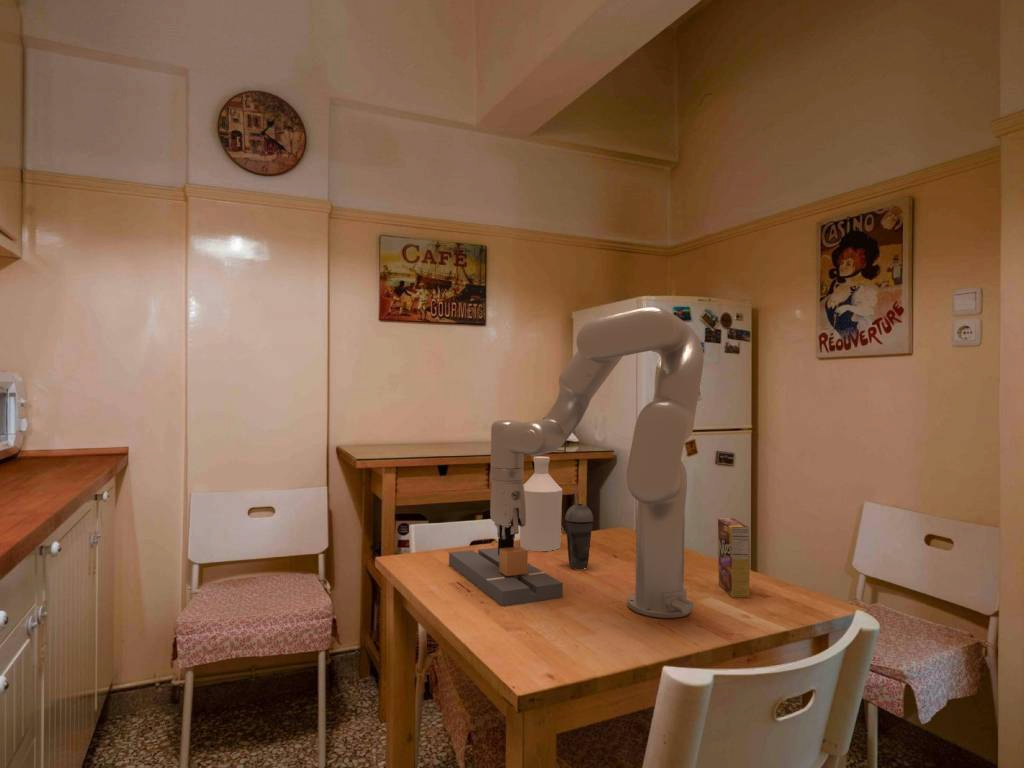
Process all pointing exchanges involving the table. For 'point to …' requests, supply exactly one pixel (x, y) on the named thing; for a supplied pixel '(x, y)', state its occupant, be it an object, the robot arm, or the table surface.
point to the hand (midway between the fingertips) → (505, 555)
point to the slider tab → (513, 561)
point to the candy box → (733, 557)
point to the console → (504, 578)
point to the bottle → (542, 510)
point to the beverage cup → (578, 534)
